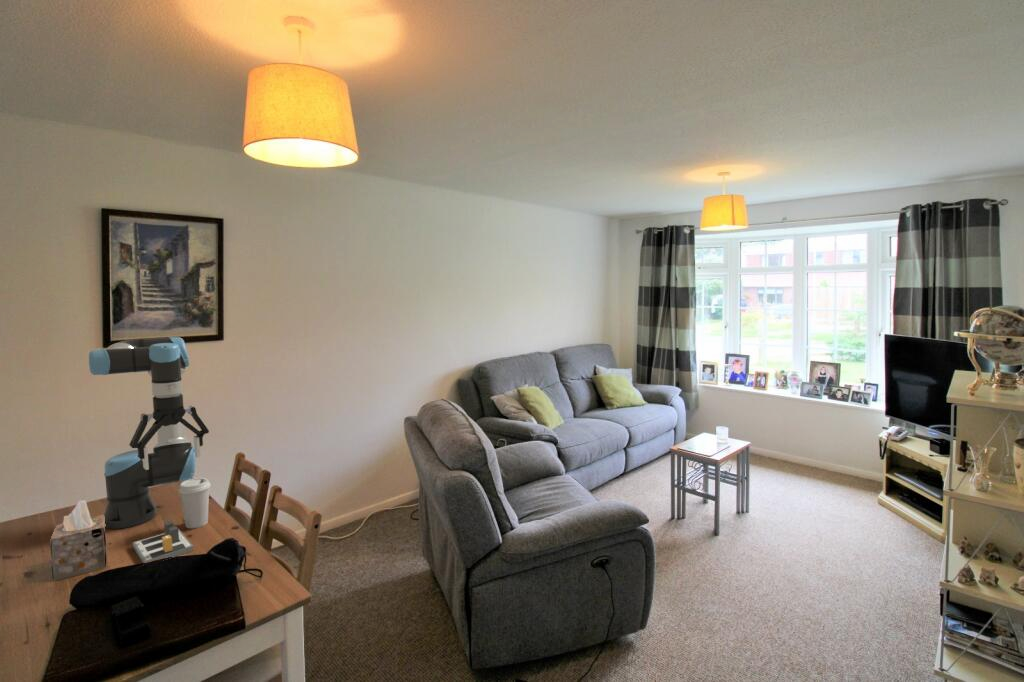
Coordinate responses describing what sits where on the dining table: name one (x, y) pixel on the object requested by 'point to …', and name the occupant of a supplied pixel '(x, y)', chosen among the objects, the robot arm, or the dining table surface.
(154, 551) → the panel
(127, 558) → the dining table surface
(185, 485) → the coffee cup
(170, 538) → the toggle
